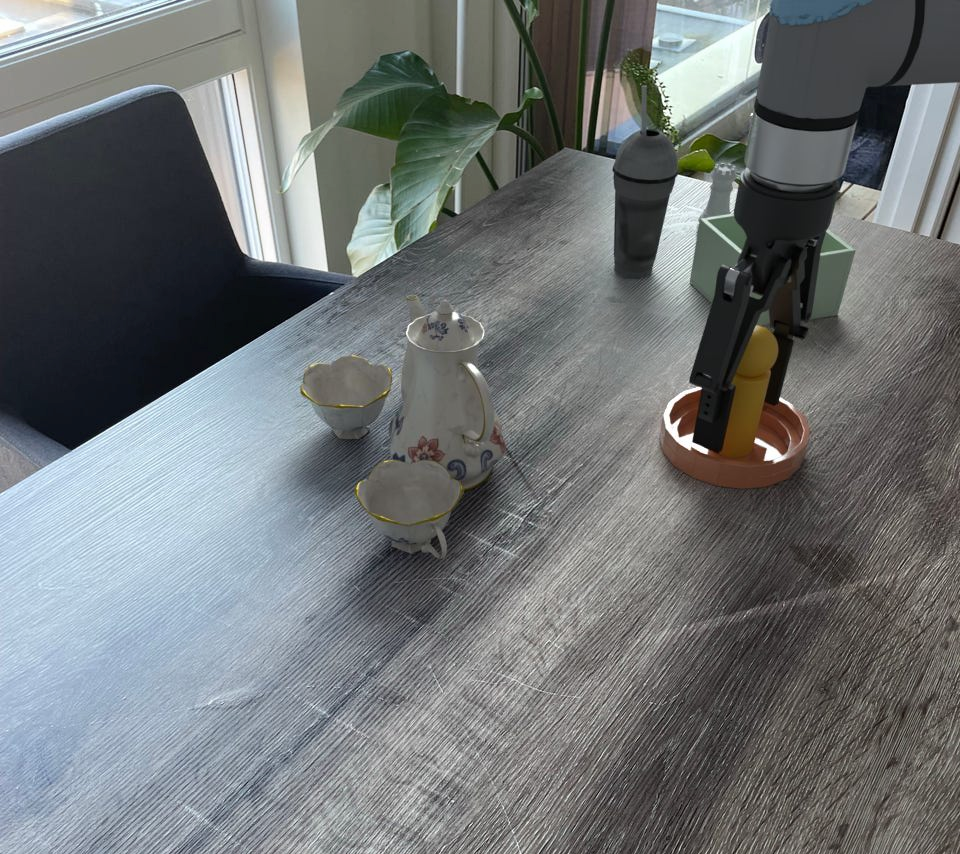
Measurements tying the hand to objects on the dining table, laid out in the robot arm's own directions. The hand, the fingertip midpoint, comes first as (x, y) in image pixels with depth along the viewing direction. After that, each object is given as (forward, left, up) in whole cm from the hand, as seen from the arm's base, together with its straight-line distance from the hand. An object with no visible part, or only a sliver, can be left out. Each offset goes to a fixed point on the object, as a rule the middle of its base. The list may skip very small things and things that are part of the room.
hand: (736, 421), depth 95 cm
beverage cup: (-7, -36, -3) cm, 37 cm away
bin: (-18, -25, -3) cm, 31 cm away
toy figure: (0, 0, -3) cm, 3 cm away
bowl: (0, 0, -3) cm, 3 cm away
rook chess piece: (-21, -42, -3) cm, 47 cm away
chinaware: (+29, -6, -3) cm, 30 cm away
